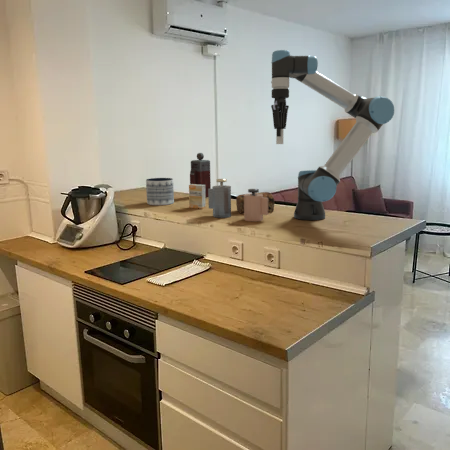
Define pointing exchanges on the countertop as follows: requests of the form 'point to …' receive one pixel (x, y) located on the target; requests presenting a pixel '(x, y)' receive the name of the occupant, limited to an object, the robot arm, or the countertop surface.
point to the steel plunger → (221, 181)
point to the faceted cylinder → (220, 201)
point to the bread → (265, 194)
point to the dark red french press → (200, 172)
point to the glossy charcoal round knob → (253, 191)
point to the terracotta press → (255, 207)
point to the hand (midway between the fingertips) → (279, 144)
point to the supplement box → (197, 196)
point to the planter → (160, 191)
